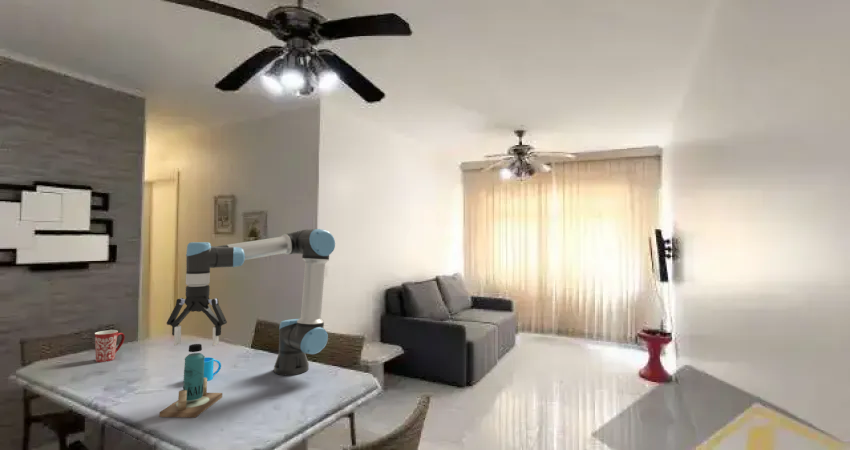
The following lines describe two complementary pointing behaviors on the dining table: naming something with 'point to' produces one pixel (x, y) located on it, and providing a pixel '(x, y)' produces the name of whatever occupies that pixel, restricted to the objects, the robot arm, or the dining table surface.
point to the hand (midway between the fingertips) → (196, 344)
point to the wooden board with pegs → (191, 404)
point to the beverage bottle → (194, 373)
